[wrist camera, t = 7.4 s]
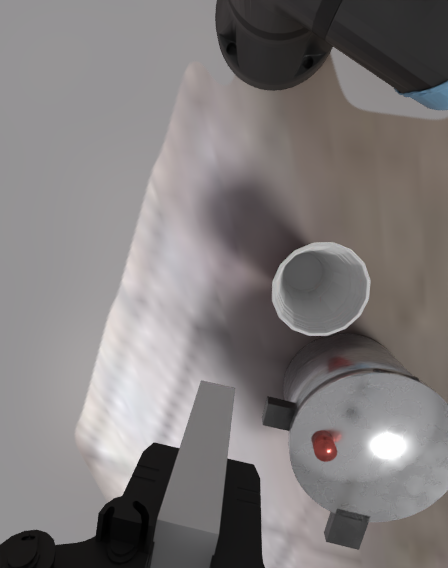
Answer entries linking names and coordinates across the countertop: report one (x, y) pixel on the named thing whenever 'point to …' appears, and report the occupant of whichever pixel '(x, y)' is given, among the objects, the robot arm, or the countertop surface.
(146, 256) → the countertop surface
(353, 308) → the plastic cup
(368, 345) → the cooker pot
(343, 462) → the cooker lid
